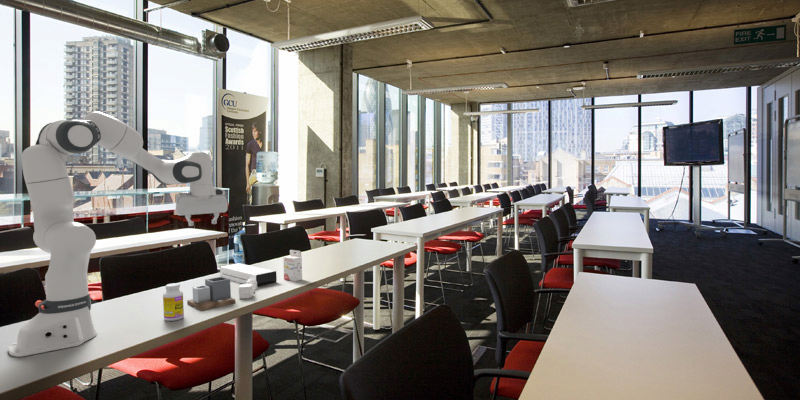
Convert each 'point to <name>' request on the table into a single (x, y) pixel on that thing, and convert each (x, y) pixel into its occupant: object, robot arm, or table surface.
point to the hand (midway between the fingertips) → (202, 224)
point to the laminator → (248, 274)
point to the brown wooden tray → (211, 303)
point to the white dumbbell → (247, 288)
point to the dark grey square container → (219, 288)
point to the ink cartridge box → (293, 266)
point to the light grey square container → (201, 294)
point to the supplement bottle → (173, 302)
